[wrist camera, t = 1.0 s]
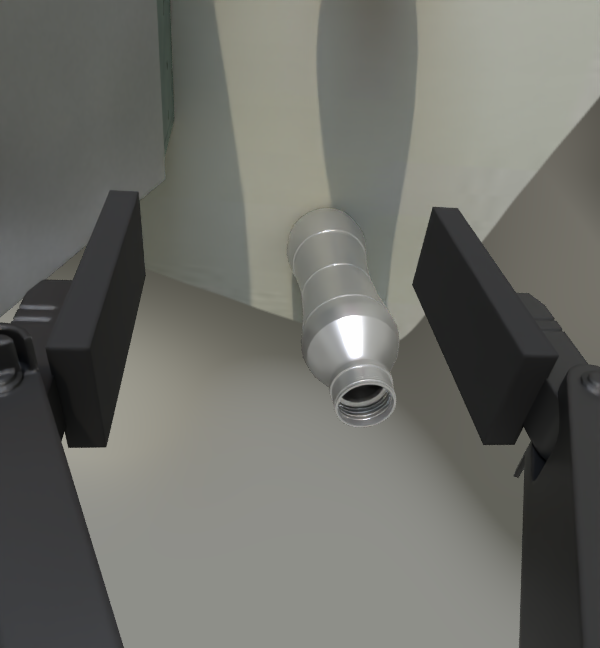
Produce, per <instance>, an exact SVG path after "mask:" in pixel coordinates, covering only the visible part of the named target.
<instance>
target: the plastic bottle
mask: <svg viewBox="0 0 600 648" xmlns="http://www.w3.org/2000/svg"><path fill="white" fill-rule="evenodd" d="M287 257H288V262H289V264H290V267H291V269H292V272H293V274H294V276H295V278H296V279H297V282H298V285H299V288H300V291H301V295H302V307H303V324H302V339H301V343H302V353H303V358H304V360H305V362H306V364H307V366H308V368H309V369H310V371H311V372H312V373H313V375H314V376H315V377H316V378H317V379H318V380H319V381H321V382H322V383H324V384H325V385H326V386H328V387H329V392H330V397H331V399H332V401H333V404H334V410H335V412H336V415H337V417H338V418H339V419H340V421H342V422H343V423H344V424H346V425H348V426H352V427H358V428H362V427H370V426H373V425H377V424H379V423H381V422H382V421H384V420H386V419H387V418H388V417H389V416H390V415H391V414H392V412H393V411H394V409H395V406H396V395H395V392H394V389H393V380H392V376H391V373H390V371H391V369H392V367H393V365H394V362H395V361H396V358H397V355H398V350H399V332H398V328H397V325H396V323H395V321H394V319H393V317H392V315H391V314H390V312H389V311H388V309H387V308H386V306H385V304H384V303H383V301H382V300H381V298H380V297H379V295H378V293H377V291H376V289H375V287H374V284H373V283H372V280H371V278H370V275H369V270H368V266H367V252H366V243H365V238H364V235H363V232H362V231H361V229H360V227H359V226H358V225H357V223H356V222H355V221H354V220H353V219H352V218H351V217H350V216H349V215H348V214H346V213H345V212H343V211H340V210H338V209H333V208H321V209H316V210H313V211H311V212H309V213H307V214H305V215H303V216H302V217H301V218H300V219H299V220H298V221H297V222H296V223H295V225H294V226H293V228H292V230H291V232H290V235H289V239H288V245H287Z"/></svg>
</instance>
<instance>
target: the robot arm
mask: <svg viewBox="0 0 600 648" xmlns="http://www.w3.org/2000/svg"><path fill="white" fill-rule="evenodd" d="M145 276H146V275H145V263H144V251H143V238H142V226H141V214H140V202H139V192H137V191H118V190H110V191H109V193H108V196H107V198H106V201H105V203H104V205H103V208H102V210H101V213H100V215H99V218H98V220H97V222H96V225H95V227H94V230H93V232H92V235H91V237H90V239H89V242H88V244H87V247H86V249H85V252H84V254H83V256H82V259H81V261H80V264H79V266H78V269H77V271H76V274H75V276H74V278H73V280H41V281H40V282H39V283H38V284H36V285H35V286H34V287H32V288H31V289H30V290H29V291H27V292H26V294H25V296H24V298H23V300H22V302H21V304H20V309H18V310H17V312H16V314H15V316H14V318H13V319H14V320H13V321H12V322H11V324H10V323H0V648H124V647H123V643H122V640H121V637H120V634H119V630H118V627H117V624H116V620H115V617H114V614H113V610H112V607H111V604H110V601H109V597H108V594H107V591H106V587H105V584H104V581H103V578H102V574H101V571H100V568H99V564H98V561H97V558H96V555H95V551H94V549H93V545H92V541H91V538H90V535H89V532H88V528H87V525H86V522H85V518H84V515H83V512H82V508H81V505H80V502H79V499H78V495H77V492H76V489H75V486H74V482H73V480H72V476H71V472H70V469H69V466H68V463H67V459H66V456H65V453H64V449H63V446H62V443H61V441H62V438H63V434H64V431H65V435H66V439H67V444H68V447H69V448H80V447H81V448H87V447H88V448H90V447H106V446H107V442H108V438H109V433H110V429H111V424H112V420H113V416H114V411H115V407H116V402H117V398H118V394H119V390H120V385H121V381H122V377H123V372H124V368H125V363H126V359H127V355H128V350H129V346H130V342H131V337H132V333H133V329H134V324H135V320H136V315H137V311H138V307H139V302H140V298H141V293H142V289H143V285H144V280H145ZM412 285H413V288H414V290H415V292H416V294H417V297H418V299H419V301H420V303H421V306H422V308H423V310H424V312H425V315H426V317H427V319H428V321H429V324H430V326H431V328H432V330H433V332H434V335H435V337H436V339H437V342H438V344H439V346H440V348H441V351H442V353H443V355H444V357H445V359H446V362H447V364H448V366H449V369H450V371H451V373H452V375H453V377H454V380H455V382H456V384H457V387H458V389H459V391H460V393H461V396H462V398H463V400H464V402H465V404H466V407H467V409H468V411H469V413H470V416H471V418H472V420H473V423H474V425H475V427H476V429H477V431H478V434H479V436H480V438H481V441H482V443H483V445H514V444H515V443H516V441H517V439H518V437H519V435H520V433H521V431H522V428H523V427H524V428H525V430H526V432H527V434H528V436H529V437H530V439H531V442H530V444H529V446H528V448H527V449H526V451H525V453H524V455H523V457H522V459H521V461H520V463H519V465H518V467H517V468H516V471H515V474H514V477H519V476H520V474H521V472H522V471H523V470H524V502H523V535H522V569H521V604H520V638H519V648H600V367H599V366H595V365H589V364H588V363H587V362H586V360H585V359H584V358H583V356H582V355H581V354H580V352H579V351H578V349H577V348H576V347H575V346H574V344H573V343H572V341H571V340H570V339H569V337H568V336H567V335H566V333H565V332H562V328H561V327H560V325H559V324H558V322H557V321H554V317H553V316H552V314H551V313H550V312H549V310H548V309H547V308H546V306H545V305H544V304H542V303H541V302H540V301H538V300H537V299H536V298H534V297H533V296H532V295H530V294H529V293H516V292H515V291H514V289H513V288H512V286H511V285H510V283H509V282H508V281H507V279H506V278H505V276H504V275H503V273H502V272H501V270H500V269H499V267H498V266H497V264H496V263H495V262H494V260H493V259H492V257H491V256H490V254H489V253H488V251H487V250H486V249H485V247H484V246H483V244H482V243H481V241H480V240H479V238H478V237H477V236H476V234H475V233H474V231H473V230H472V228H471V227H470V225H469V224H468V222H467V221H466V220H465V218H464V217H463V215H462V214H461V212H460V211H459V209H458V208H444V207H433V208H432V212H431V216H430V220H429V223H428V227H427V231H426V235H425V238H424V242H423V246H422V250H421V254H420V257H419V261H418V265H417V269H416V272H415V276H414V280H413V284H412Z"/></svg>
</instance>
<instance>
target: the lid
mask: <svg viewBox="0 0 600 648" xmlns="http://www.w3.org/2000/svg"><path fill="white" fill-rule="evenodd" d="M164 180H165V159H164V139H163V120H162V100H161V80H160V60H159V41H158V21H157V1H156V0H0V317H1V316H2V315H4V314H5V313H6V312H7V311H8V310H10V309H11V308H12V307H13V306H14V305H16V303H18V302H19V301H20V300H21V299H23V298H24V296H25V294H26V292H27V291H29V290H30V289H31V288H32V287H34V286H35V285H36V284H38V283H39V282H40V281H41V280H45V279H46V278H48V277H49V276H50V275H51V274H53V273H54V272H55V271H56V270H57V269H59V268H60V267H61V266H62V265H63V264H64V263H66V262H67V261H68V260H69V259H71V258H72V257H73V256H74V255H75V254H77V253H78V252H79V251H80V250H81V249H83V248H84V247H85V246H86V245H87V244H88V242H89V239H90V237H91V235H92V232H93V230H94V227H95V225H96V222H97V220H98V218H99V215H100V213H101V210H102V208H103V205H104V203H105V201H106V198H107V196H108V193H109V191H110V190H118V191H137V192H139V201H140V200H141V199H142V198H144V197H145V196H146V195H147V194H148V193H150V192H151V191H152V190H153V189H154V188H156V187H157V186H158V185H159V184H160V183H162V182H163V181H164Z"/></svg>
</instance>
